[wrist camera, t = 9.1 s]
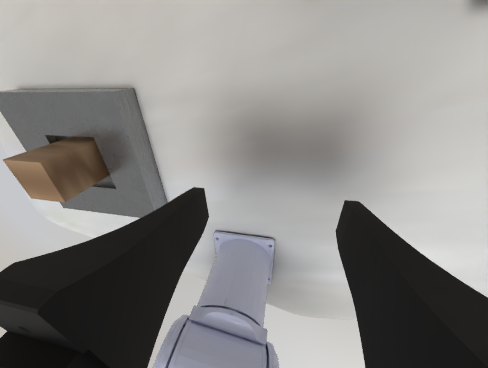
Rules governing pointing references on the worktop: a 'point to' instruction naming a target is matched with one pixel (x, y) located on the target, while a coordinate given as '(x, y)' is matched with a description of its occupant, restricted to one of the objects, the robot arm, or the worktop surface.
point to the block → (59, 169)
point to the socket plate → (106, 137)
